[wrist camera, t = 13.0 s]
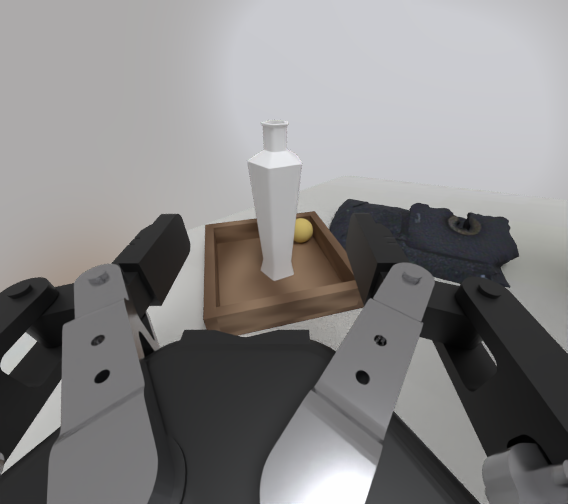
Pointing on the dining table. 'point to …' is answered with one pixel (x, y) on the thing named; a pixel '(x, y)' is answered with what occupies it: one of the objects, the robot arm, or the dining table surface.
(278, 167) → the white faceted vase
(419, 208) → the dark folded fabric bundle
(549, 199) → the dining table surface
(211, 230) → the tray
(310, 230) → the ball
